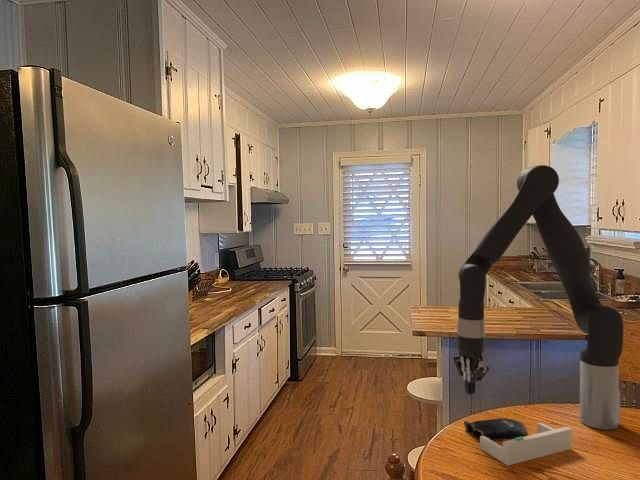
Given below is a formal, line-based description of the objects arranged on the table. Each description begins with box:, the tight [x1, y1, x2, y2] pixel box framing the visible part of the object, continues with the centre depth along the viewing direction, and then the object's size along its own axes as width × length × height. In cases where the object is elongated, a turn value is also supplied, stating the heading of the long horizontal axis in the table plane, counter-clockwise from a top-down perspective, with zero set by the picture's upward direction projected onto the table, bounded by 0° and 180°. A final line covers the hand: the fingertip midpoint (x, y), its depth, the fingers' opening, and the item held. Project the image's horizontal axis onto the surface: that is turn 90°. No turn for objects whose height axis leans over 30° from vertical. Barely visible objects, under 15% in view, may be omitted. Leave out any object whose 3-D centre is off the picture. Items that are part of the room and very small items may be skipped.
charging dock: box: [479, 422, 573, 466], centre depth 118 cm, size 20×9×6 cm, turn 112°
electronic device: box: [463, 417, 528, 441], centre depth 127 cm, size 9×6×15 cm
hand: (469, 393), depth 136 cm, fingers closed
